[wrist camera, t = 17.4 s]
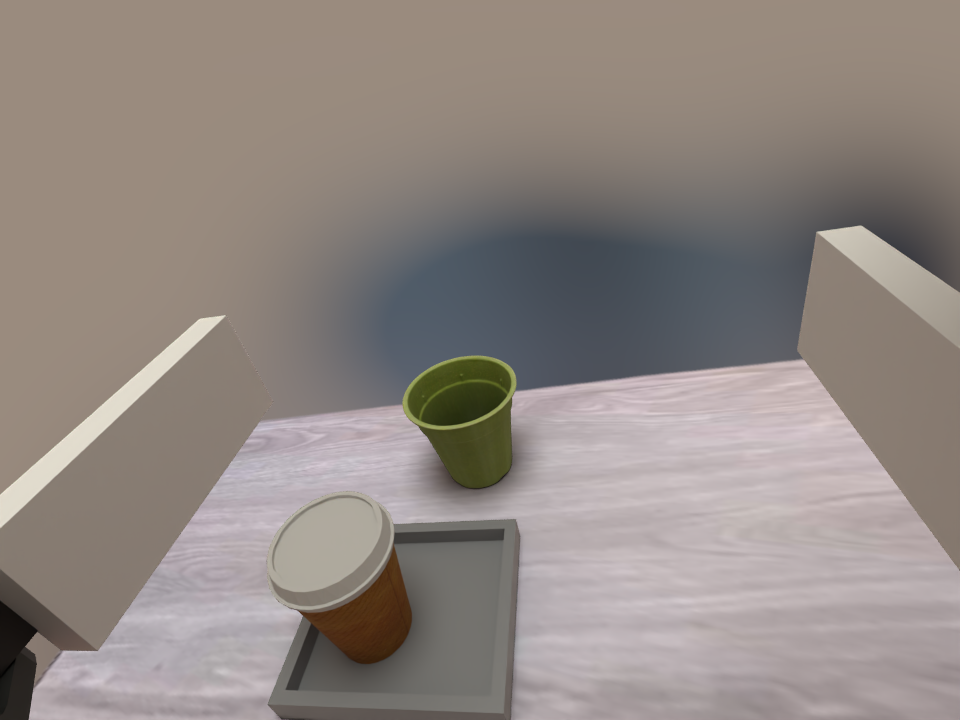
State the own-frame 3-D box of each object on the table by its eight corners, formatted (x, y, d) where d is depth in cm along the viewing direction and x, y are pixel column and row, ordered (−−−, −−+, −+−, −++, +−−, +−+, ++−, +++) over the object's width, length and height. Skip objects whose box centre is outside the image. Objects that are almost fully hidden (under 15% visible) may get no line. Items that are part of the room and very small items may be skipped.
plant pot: (417, 457, 61) (389, 383, 55) (503, 418, 64) (486, 343, 58) (451, 526, 51) (422, 445, 45) (552, 476, 54) (537, 393, 48)
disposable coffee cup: (302, 634, 44) (239, 549, 37) (388, 556, 49) (345, 469, 42) (361, 715, 37) (297, 629, 31) (453, 616, 42) (414, 524, 36)
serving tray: (520, 536, 49) (515, 519, 47) (509, 729, 36) (503, 713, 34) (348, 541, 52) (339, 526, 51) (281, 719, 39) (267, 704, 38)
